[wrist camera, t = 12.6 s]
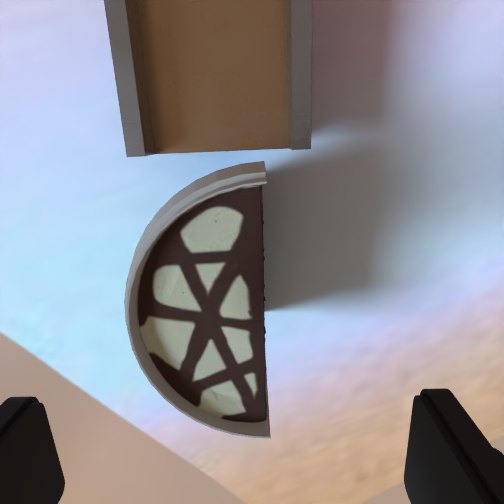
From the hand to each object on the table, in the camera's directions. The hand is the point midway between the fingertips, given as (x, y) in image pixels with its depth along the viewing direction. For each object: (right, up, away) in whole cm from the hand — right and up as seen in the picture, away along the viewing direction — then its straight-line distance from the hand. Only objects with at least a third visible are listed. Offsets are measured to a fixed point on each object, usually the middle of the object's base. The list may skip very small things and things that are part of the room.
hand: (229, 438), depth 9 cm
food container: (-2, +5, +15) cm, 16 cm away
